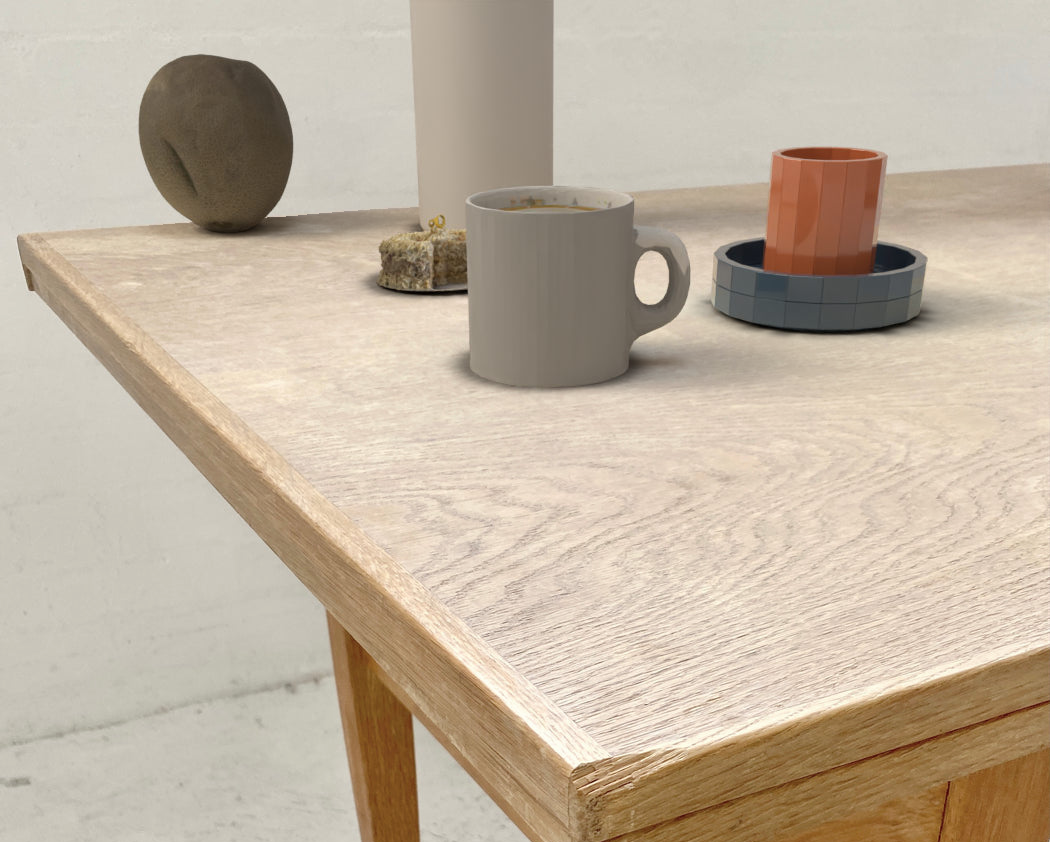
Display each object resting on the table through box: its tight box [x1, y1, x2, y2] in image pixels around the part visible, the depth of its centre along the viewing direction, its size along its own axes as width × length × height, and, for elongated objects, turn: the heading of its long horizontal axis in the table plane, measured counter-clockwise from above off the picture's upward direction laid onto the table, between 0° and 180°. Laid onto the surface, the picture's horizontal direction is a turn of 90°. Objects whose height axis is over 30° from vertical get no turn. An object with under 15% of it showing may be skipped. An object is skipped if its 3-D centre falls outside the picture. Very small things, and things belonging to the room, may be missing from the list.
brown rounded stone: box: [138, 53, 294, 233], centre depth 119 cm, size 14×14×15 cm
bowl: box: [710, 236, 929, 332], centre depth 92 cm, size 15×15×4 cm
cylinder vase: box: [408, 0, 555, 231], centre depth 115 cm, size 12×12×25 cm
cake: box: [376, 215, 468, 293], centre depth 100 cm, size 10×10×5 cm
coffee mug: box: [466, 185, 691, 388], centre depth 78 cm, size 13×10×10 cm
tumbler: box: [762, 146, 889, 275], centre depth 90 cm, size 8×8×10 cm
